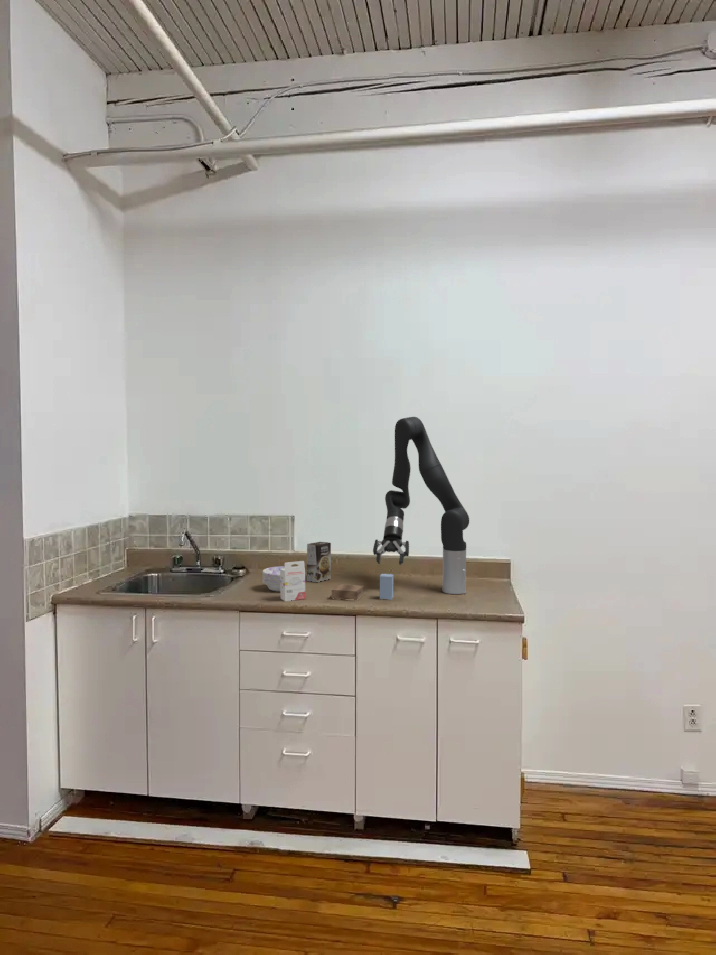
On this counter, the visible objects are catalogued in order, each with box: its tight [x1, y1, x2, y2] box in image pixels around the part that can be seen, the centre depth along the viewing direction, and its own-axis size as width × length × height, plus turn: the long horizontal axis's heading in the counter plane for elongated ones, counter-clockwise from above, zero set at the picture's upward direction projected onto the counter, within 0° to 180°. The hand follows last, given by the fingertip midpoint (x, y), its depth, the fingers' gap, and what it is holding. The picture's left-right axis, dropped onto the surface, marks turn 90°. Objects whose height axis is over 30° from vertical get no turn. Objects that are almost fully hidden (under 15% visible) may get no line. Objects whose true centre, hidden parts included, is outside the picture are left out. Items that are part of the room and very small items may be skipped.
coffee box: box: [306, 541, 332, 583], centre depth 288 cm, size 9×6×16 cm
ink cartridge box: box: [279, 560, 306, 602], centre depth 255 cm, size 9×5×15 cm, turn 117°
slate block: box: [379, 573, 394, 601], centre depth 257 cm, size 5×5×9 cm
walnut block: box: [331, 583, 364, 600], centre depth 259 cm, size 10×10×4 cm
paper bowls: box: [261, 565, 285, 592], centre depth 272 cm, size 15×15×8 cm
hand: (389, 563), depth 265 cm, fingers open, 8 cm apart
